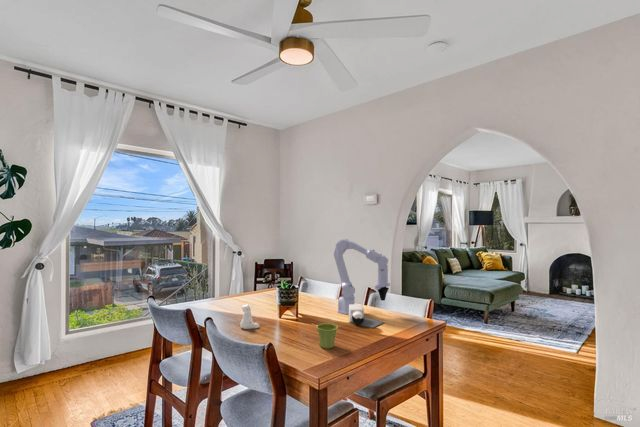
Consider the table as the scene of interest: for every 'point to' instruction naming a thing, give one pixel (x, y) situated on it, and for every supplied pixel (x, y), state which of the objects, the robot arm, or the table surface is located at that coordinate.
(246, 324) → the white creature statuette
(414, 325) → the table surface
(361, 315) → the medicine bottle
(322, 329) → the plant pot
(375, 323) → the mat
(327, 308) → the table surface
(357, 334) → the table surface
